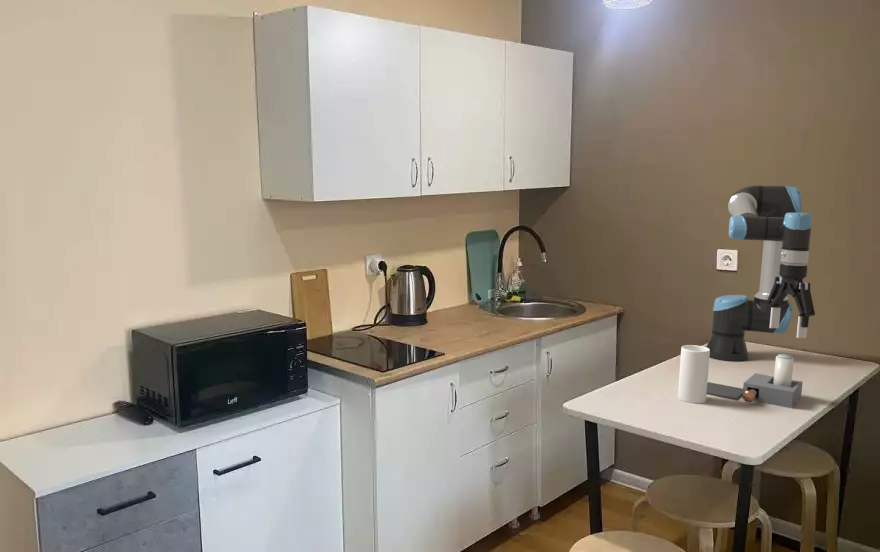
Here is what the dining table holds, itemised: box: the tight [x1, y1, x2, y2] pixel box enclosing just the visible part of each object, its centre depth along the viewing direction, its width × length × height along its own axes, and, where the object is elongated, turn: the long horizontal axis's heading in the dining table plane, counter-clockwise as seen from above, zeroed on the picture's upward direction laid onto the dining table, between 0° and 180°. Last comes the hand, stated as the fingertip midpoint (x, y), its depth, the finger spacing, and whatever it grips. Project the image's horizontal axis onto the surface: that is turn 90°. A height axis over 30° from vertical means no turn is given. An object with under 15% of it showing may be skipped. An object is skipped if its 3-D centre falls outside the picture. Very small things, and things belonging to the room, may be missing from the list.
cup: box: [677, 344, 710, 404], centre depth 220 cm, size 8×8×16 cm
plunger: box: [741, 388, 759, 403], centre depth 221 cm, size 10×3×3 cm, turn 143°
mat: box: [706, 381, 743, 401], centre depth 230 cm, size 12×12×1 cm
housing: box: [741, 373, 804, 409], centre depth 224 cm, size 14×14×5 cm
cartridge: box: [773, 353, 795, 387], centre depth 223 cm, size 5×5×14 cm
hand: (787, 332), depth 221 cm, fingers open, 13 cm apart
